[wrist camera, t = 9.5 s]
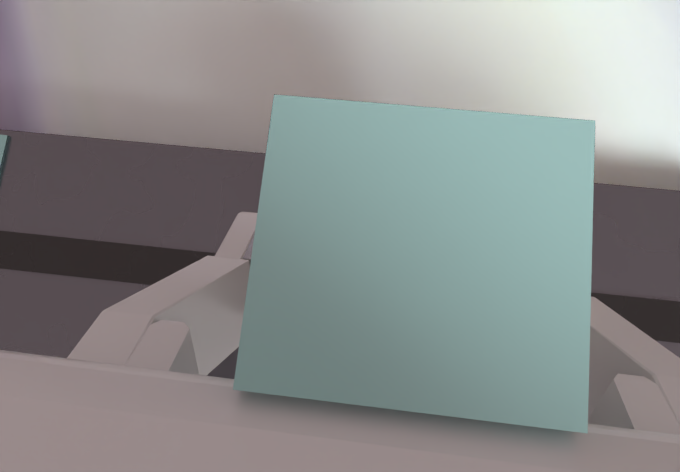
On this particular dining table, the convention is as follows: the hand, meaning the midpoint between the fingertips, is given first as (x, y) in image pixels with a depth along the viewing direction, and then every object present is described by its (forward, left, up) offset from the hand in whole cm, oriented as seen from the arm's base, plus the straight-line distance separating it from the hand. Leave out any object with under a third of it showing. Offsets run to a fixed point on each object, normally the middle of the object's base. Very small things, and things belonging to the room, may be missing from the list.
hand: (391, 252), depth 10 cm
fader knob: (-1, 0, -4) cm, 4 cm away
